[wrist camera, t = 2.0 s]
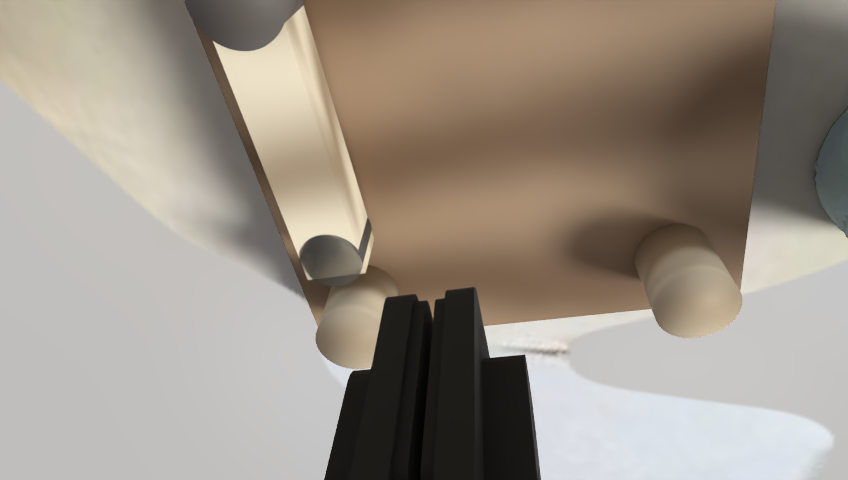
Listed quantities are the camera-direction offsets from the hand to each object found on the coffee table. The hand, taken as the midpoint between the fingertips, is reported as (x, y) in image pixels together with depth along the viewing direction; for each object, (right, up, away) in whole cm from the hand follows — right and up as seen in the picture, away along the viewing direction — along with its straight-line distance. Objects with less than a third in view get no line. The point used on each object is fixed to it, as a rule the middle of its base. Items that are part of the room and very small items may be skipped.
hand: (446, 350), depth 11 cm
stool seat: (+2, +8, +14) cm, 16 cm away
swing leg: (-5, +7, +12) cm, 14 cm away
